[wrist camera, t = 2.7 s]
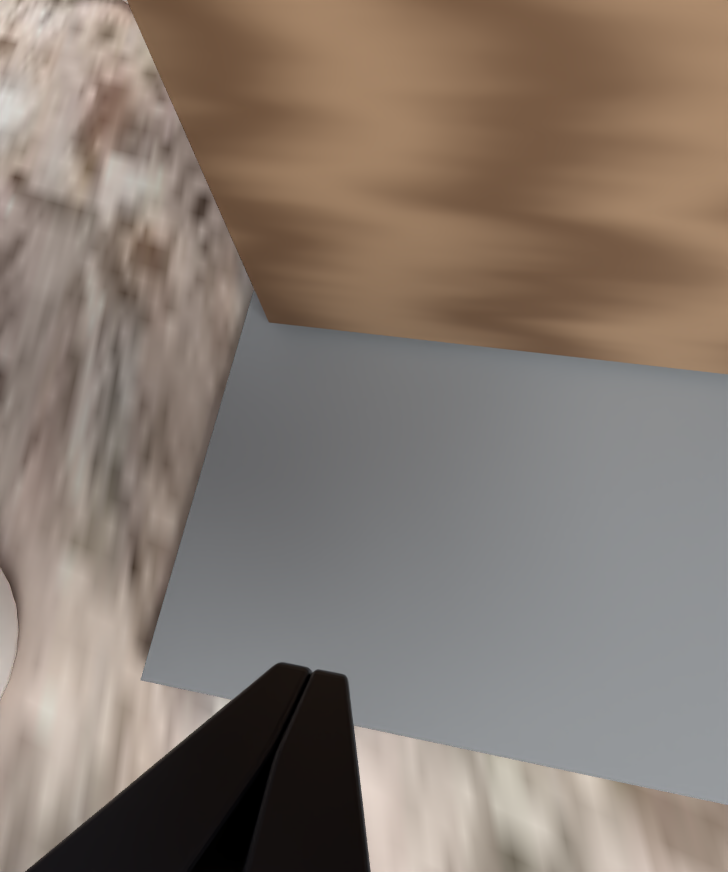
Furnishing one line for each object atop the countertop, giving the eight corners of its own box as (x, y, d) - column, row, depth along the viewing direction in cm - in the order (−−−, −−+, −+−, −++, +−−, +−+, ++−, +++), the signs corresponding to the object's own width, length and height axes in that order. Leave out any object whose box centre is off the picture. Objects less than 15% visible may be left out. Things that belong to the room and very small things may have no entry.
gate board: (154, 681, 19) (140, 680, 18) (294, 188, 25) (288, 168, 24) (1233, 909, 15) (1286, 923, 14) (1076, 249, 21) (1106, 228, 20)
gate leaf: (766, 332, 19) (1287, -246, 8) (768, 380, 19) (1334, -164, 7) (279, 282, 22) (95, -215, 10) (268, 323, 21) (58, -150, 9)
